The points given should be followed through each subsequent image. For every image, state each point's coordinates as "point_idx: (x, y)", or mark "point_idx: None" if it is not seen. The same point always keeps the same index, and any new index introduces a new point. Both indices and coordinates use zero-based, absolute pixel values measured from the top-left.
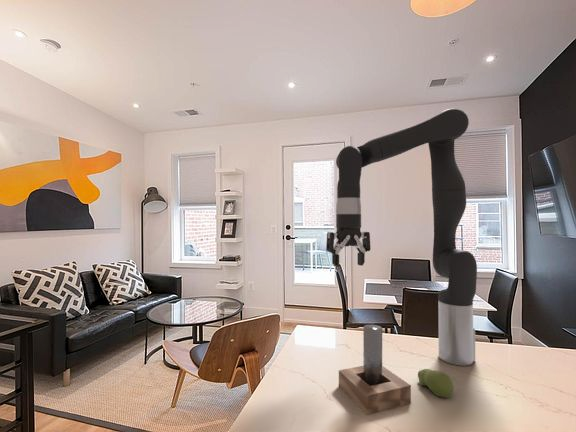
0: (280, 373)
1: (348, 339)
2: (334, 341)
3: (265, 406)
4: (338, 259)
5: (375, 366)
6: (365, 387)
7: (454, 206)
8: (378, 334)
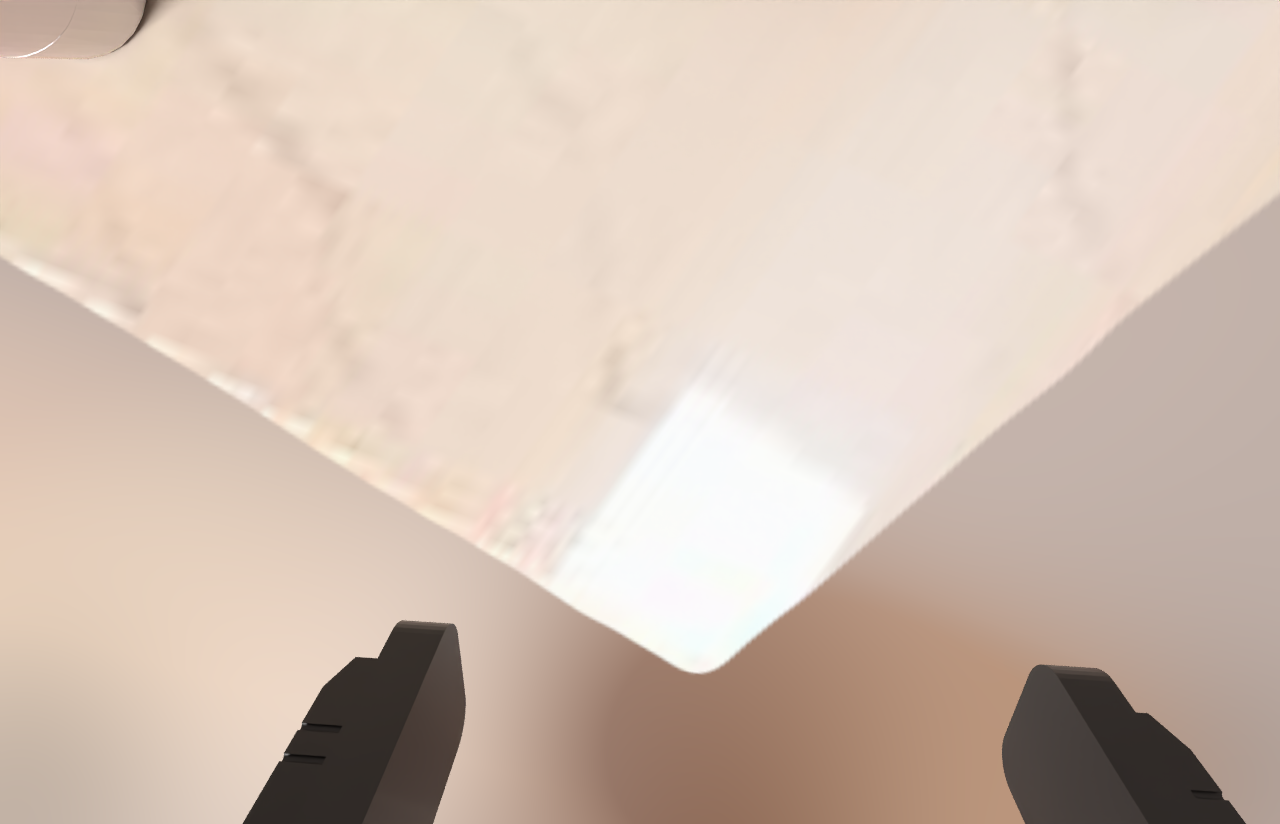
0: (1165, 227)
1: (554, 447)
2: (645, 454)
3: None
4: (1165, 818)
5: None
6: None
7: None
8: None
